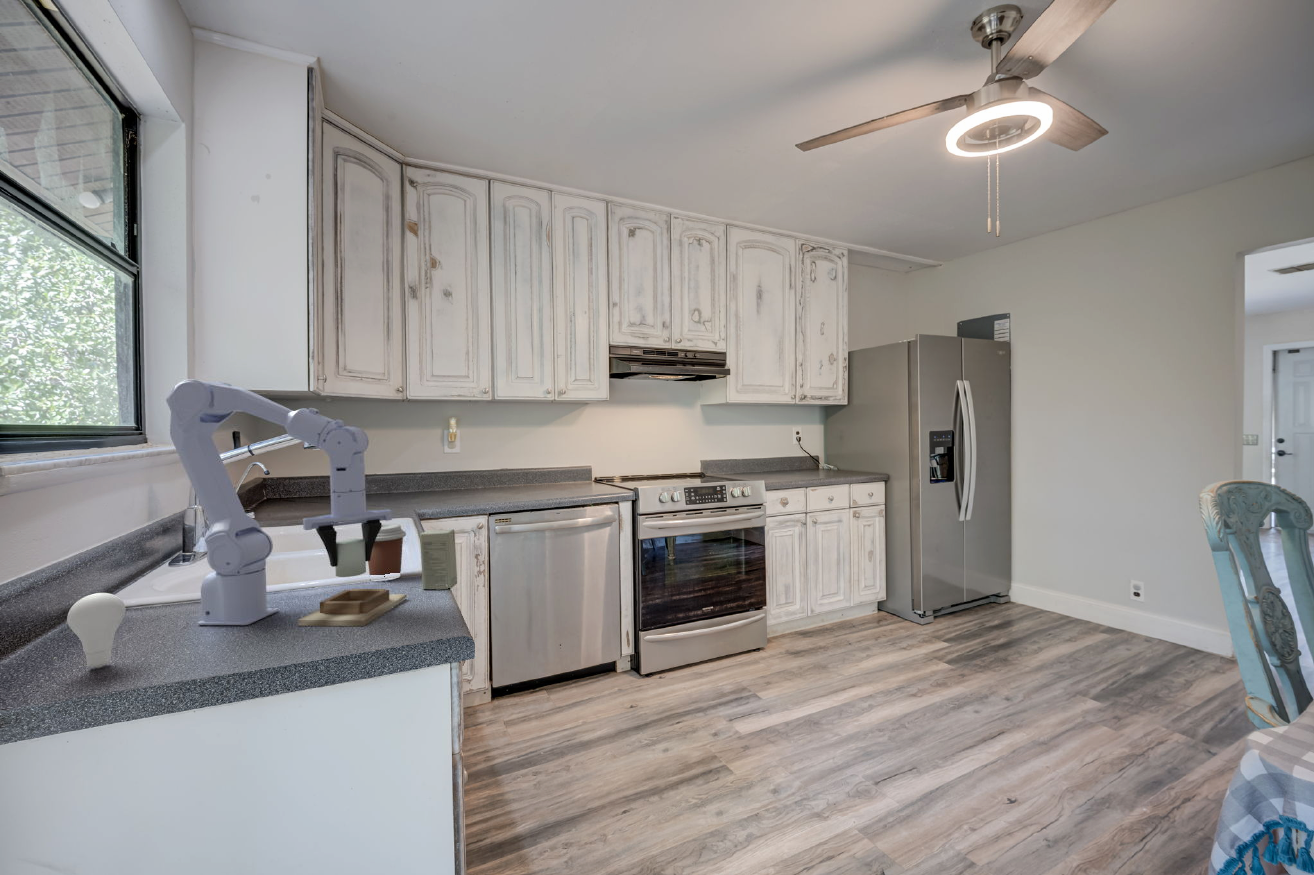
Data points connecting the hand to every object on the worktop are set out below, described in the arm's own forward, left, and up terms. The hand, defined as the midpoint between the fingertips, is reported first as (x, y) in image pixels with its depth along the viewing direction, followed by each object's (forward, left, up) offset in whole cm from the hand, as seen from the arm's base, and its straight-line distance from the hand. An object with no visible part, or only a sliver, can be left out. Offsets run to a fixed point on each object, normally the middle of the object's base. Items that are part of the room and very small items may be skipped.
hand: (350, 562), depth 106 cm
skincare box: (+9, +17, -10) cm, 21 cm away
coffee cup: (-7, +24, -10) cm, 27 cm away
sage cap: (0, 0, -2) cm, 2 cm away
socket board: (0, +1, -9) cm, 9 cm away
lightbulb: (-24, -24, -10) cm, 35 cm away
